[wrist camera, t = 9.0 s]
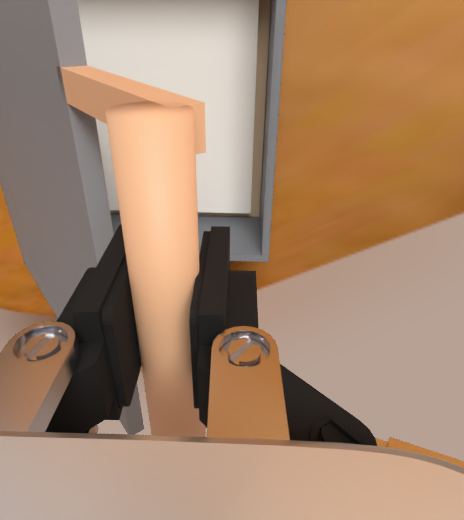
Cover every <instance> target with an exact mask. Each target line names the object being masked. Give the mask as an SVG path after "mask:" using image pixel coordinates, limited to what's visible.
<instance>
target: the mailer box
mask: <svg viewBox="0 0 464 520" xmlns="http://www.w3.org/2000/svg"><path fill="white" fill-rule="evenodd" d="M285 13H286V0H259V14H258V40H257V65H256V90H255V116H254V141H253V166H252V192H251V213H209V212H198V239H199V255H200V249H201V243H202V237H203V232H204V231H211V226H225V227H230V261H251V262H268V260H269V246H270V231H271V217H272V202H273V188H274V173H275V159H276V144H277V130H278V115H279V101H280V86H281V72H282V57H283V42H284V28H285ZM110 214H111V221H112V227H113V234H115V232H116V230H117V228H118V227H119V225H120V224H121V218H120V211H119V210H110Z"/></svg>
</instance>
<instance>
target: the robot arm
mask: <svg viewBox="0 0 464 520" xmlns="http://www.w3.org/2000/svg"><path fill="white" fill-rule="evenodd" d="M189 327H190V345H191V364H192V382H193V400H194V408H196V409H199V420H200V421H201V422H202V423H203V424H204V425H205V426H206V427H207V437H189V436H159V435H125V434H97V432H98V426H97V424H99V423H100V422H102V421H103V420H119V419H120V416H121V412H122V409H123V407H129V406H130V404H131V401H132V398H133V394H134V390H135V387H136V383H137V380H138V376H139V372H140V369H141V365H142V364H141V357H140V350H139V343H138V336H137V329H136V322H135V315H134V308H133V301H132V294H131V288H130V281H129V274H128V267H127V260H126V253H125V246H124V239H123V232H122V225H121V224H120V225H119V227H118V228H117V230H116V232H115V234H114V236H113V237H112V239H111V241H110V243H109V245H108V246H107V248H106V250H105V252H104V254H103V256H102V257H101V259H100V261H99V263H98V265H97V266H96V267H90V268H88V269H87V270H86V272H85V273H84V275H83V277H82V278H81V280H80V282H79V284H78V285H77V287H76V289H75V291H74V292H73V294H72V296H71V297H70V299H69V301H68V303H67V304H66V306H65V308H64V309H63V311H62V313H61V315H60V316H59V318H58V320H57V321H50V322H42V323H38V324H34V325H31V326H29V327H27V328H25V329H23V330H21V331H20V332H18V333H17V334H15V335H14V336H13V338H11V339H10V341H9V342H8V343H7V344H6V346H5V347H4V349H3V350H2V351H1V353H0V520H464V461H461V460H458V459H455V458H452V457H449V456H446V455H443V454H440V453H437V452H434V451H431V450H428V449H425V448H422V447H419V446H416V445H413V444H410V443H407V442H404V441H401V440H398V439H395V438H392V437H389V439H388V442H386V441H383V440H380V439H377V438H375V437H374V436H373V435H372V433H371V432H370V430H369V429H368V428H367V427H366V426H365V425H364V424H363V423H362V422H361V421H360V420H358V419H357V418H355V417H354V416H353V415H351V414H350V413H348V412H347V411H346V410H344V409H343V408H341V407H340V406H338V405H337V404H336V403H334V402H333V401H331V400H330V399H328V398H327V397H326V396H324V395H323V394H322V393H320V392H319V391H317V390H316V389H315V388H313V387H312V386H310V385H309V384H308V383H306V382H305V381H303V380H302V379H300V378H299V377H298V376H296V375H295V374H294V373H292V372H291V371H289V370H288V369H286V368H285V367H284V366H282V365H281V364H280V362H279V354H278V348H277V345H276V342H275V340H274V339H273V338H272V337H271V335H269V334H268V333H266V332H265V331H263V330H261V329H258V312H257V288H256V271H230V227H225V226H211V231H204V232H203V237H202V243H201V249H200V255H199V273H198V275H197V277H196V278H195V283H194V289H193V295H192V300H191V306H190V318H189Z"/></svg>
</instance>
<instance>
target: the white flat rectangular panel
mask: <svg viewBox="0 0 464 520" xmlns="http://www.w3.org/2000/svg"><path fill="white" fill-rule="evenodd" d="M77 3H78V10H79V16H80V23H81V29H82V35H83V42H84V48H85V55H86V61H87V66H90V67H93V68H96V69H100V70H103V71H106V72H109V73H112V74H115V75H119V76H122V77H125V78H128V79H131V80H134V81H138V82H141V83H144V84H147V85H150V86H153V87H157V88H160V89H163V90H166V91H169V92H172V93H176V94H179V95H182V96H185V97H188V98H191V99H195V100H198V101H201V102H204V103H205V134H206V152H205V153H200V154H196V181H197V210H198V212H209V213H251V192H252V166H253V141H254V116H255V90H256V65H257V40H258V14H259V0H77ZM96 125H97V131H98V138H99V144H100V150H101V157H102V163H103V170H104V176H105V182H106V189H107V195H108V202H109V208H110V210H119V204H118V197H117V190H116V183H115V176H114V169H113V162H112V155H111V148H110V141H109V134H108V127H107V124H105V123H103V122H101V121H100V120H98V119H96Z"/></svg>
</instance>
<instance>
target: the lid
mask: <svg viewBox="0 0 464 520" xmlns="http://www.w3.org/2000/svg"><path fill="white" fill-rule="evenodd" d="M96 119H98V120H100V121H101V122H103V123H105V124H107V127H108V134H109V141H110V148H111V155H112V162H113V169H114V176H115V183H116V190H117V197H118V204H119V211H120V218H121V225H122V232H123V239H124V246H125V253H126V260H127V267H128V274H129V281H130V288H131V294H132V301H133V308H134V315H135V322H136V329H137V336H138V343H139V350H140V357H141V364H142V365H141V369H140V370H141V371H142V373H143V377H144V385H145V392H146V399H147V406H148V413H149V420H150V427H151V434H152V435H159V436H189V437H205V429H206V428H207V427H206V426H205V425H204V424H203V423H202V422H201V421H200V420H199V409H196V408H194V400H193V382H192V364H191V345H190V327H189V318H190V306H191V300H192V295H193V289H194V283H195V278H196V277H197V275H198V273H199V239H198V210H197V181H196V154H200V153H205V152H206V134H205V103H204V102H201V101H198V100H195V99H191V98H188V97H185V96H182V95H179V94H176V93H172V92H169V91H166V90H163V89H160V88H157V87H153V86H150V85H147V84H144V83H141V82H138V81H134V80H131V79H128V78H125V77H122V76H119V75H115V74H112V73H109V72H106V71H103V70H100V69H96V68H93V67H90V66H87V61H86V55H85V48H84V42H83V35H82V29H81V23H80V16H79V10H78V3H77V0H0V183H1V187H2V190H3V193H4V197H5V200H6V204H7V207H8V210H9V214H10V217H11V220H12V224H13V227H14V230H15V234H16V237H17V241H18V244H19V247H20V251H21V254H22V257H23V261H24V263H25V265H26V267H27V268H28V270H29V271H30V273H31V275H32V276H33V278H34V280H35V281H36V283H37V285H38V286H39V288H40V290H41V291H42V293H43V295H44V296H45V298H46V300H47V301H48V303H49V304H50V306H51V308H52V309H53V311H54V313H55V314H56V316H57V318H59V316H60V315H61V313H62V311H63V309H64V308H65V306H66V304H67V303H68V301H69V299H70V297H71V296H72V294H73V292H74V291H75V289H76V287H77V285H78V284H79V282H80V280H81V278H82V277H83V275H84V273H85V272H86V270H87V269H88V268H90V267H96V266H97V265H98V263H99V261H100V259H101V257H102V256H103V254H104V252H105V250H106V248H107V246H108V245H109V243H110V241H111V239H112V237H113V236H114V234H113V227H112V221H111V214H110V208H109V202H108V195H107V189H106V182H105V176H104V170H103V163H102V157H101V150H100V144H99V138H98V131H97V125H96ZM119 420H120V421H121V423H122V425H123V427H124V428H125V430H126V432H127V433H128V435H134V434H136V433H138V432H140V431H141V430H143V429H144V425H143V419H142V413H141V406H140V400H139V393H138V387H137V383H136V387H135V390H134V394H133V398H132V401H131V404H130V406H129V407H123V409H122V412H121V416H120V419H119Z"/></svg>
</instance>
